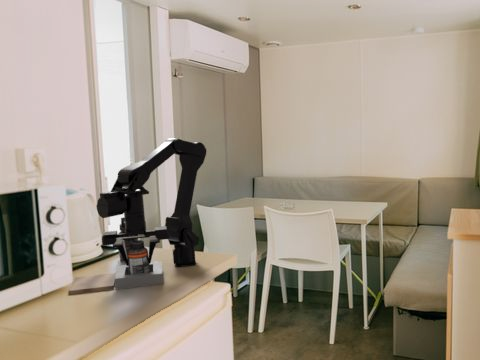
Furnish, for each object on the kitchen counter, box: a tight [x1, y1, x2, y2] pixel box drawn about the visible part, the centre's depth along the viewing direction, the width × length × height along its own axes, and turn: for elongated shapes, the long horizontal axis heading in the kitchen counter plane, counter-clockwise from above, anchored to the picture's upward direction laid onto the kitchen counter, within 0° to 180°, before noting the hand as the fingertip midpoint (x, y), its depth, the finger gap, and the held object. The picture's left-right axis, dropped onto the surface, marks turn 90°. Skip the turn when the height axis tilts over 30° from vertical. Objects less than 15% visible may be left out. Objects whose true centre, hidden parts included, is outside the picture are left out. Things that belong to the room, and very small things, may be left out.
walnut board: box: [67, 272, 116, 295], centre depth 136 cm, size 12×12×1 cm
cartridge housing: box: [114, 260, 164, 290], centre depth 138 cm, size 13×13×3 cm
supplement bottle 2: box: [127, 239, 150, 275], centre depth 138 cm, size 6×6×11 cm
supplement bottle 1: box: [118, 223, 139, 262], centre depth 162 cm, size 7×7×12 cm
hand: (138, 264), depth 138 cm, fingers closed on supplement bottle 2, 6 cm apart
